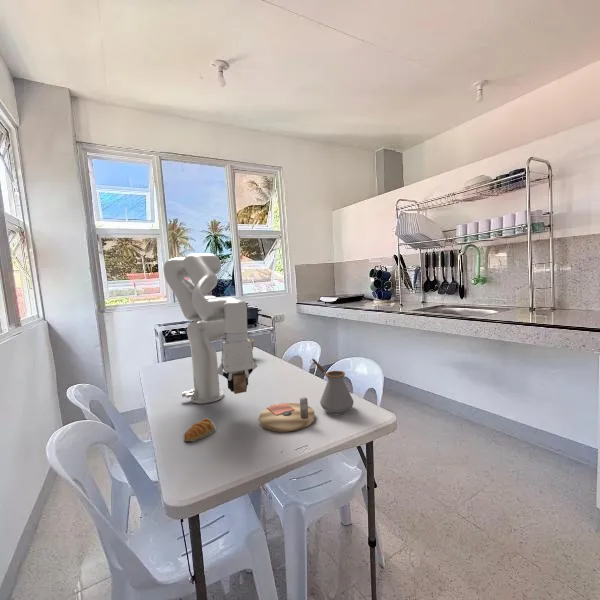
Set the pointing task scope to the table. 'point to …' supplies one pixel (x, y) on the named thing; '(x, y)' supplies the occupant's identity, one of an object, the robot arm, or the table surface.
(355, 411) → the table surface
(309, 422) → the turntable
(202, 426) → the pastry
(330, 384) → the coffee pot
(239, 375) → the cardboard box
